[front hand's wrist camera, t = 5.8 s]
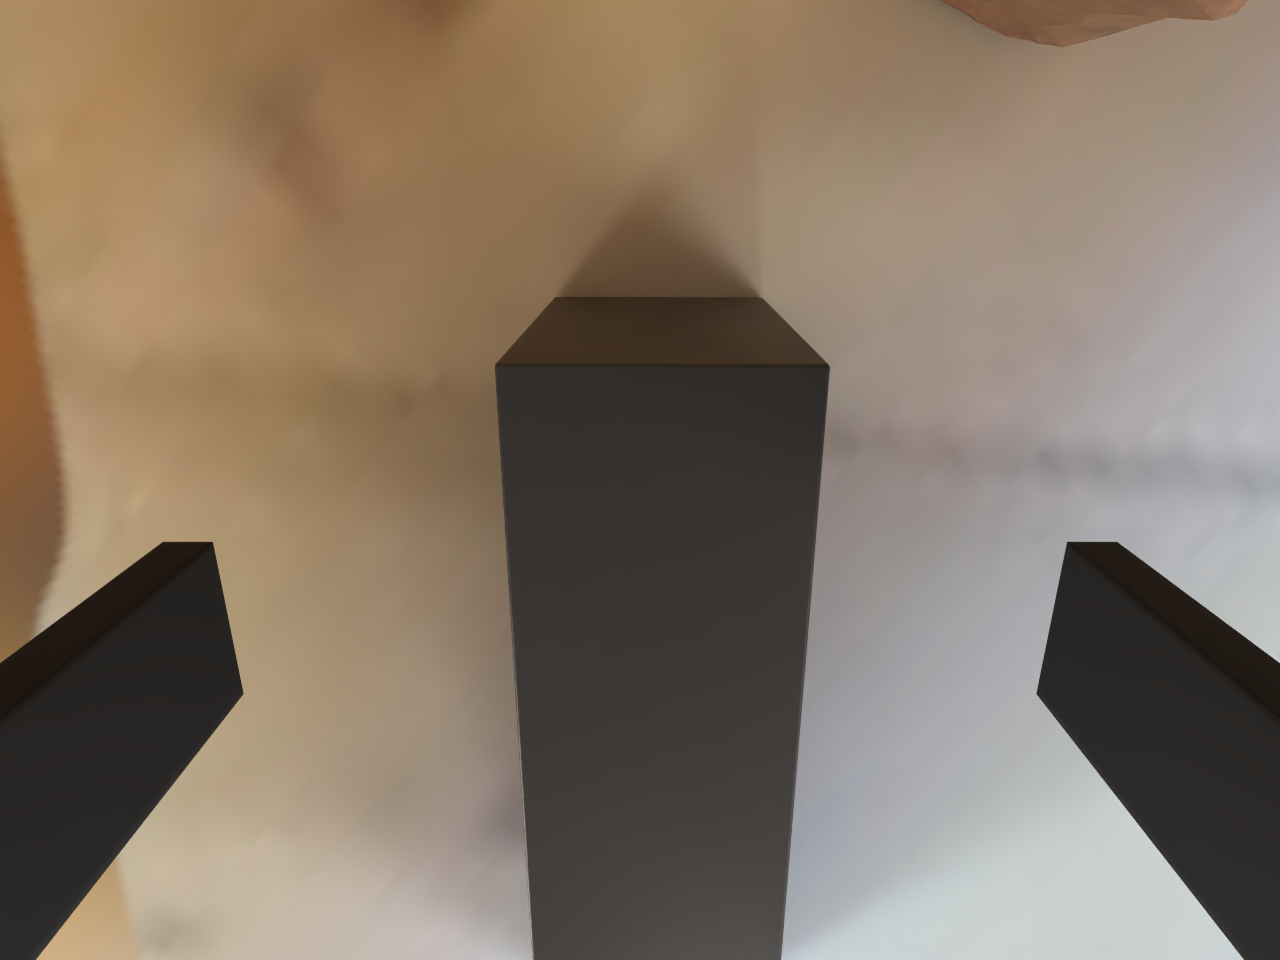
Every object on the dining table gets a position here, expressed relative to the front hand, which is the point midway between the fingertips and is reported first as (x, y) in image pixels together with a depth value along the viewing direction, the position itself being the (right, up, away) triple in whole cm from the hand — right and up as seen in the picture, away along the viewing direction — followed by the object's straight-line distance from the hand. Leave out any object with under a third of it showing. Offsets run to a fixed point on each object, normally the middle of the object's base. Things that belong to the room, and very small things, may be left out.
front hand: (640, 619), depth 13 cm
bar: (0, -5, +15) cm, 16 cm away
